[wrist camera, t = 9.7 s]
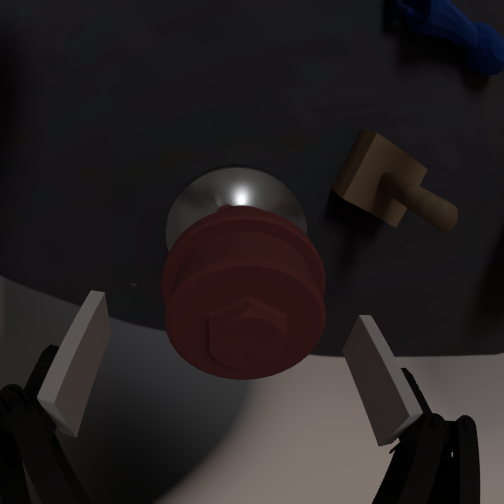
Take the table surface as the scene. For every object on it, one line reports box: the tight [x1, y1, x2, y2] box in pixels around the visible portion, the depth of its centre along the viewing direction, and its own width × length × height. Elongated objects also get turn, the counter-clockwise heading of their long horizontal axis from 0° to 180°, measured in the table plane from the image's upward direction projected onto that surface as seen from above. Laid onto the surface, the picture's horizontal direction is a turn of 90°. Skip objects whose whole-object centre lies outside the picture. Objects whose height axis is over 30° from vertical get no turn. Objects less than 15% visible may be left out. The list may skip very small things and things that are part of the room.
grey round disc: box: [166, 165, 307, 253], centre depth 25 cm, size 12×12×2 cm
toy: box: [384, 0, 504, 75], centre depth 15 cm, size 7×6×15 cm
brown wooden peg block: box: [331, 130, 458, 232], centre depth 19 cm, size 6×6×11 cm
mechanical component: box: [161, 204, 326, 380], centre depth 19 cm, size 12×10×10 cm
